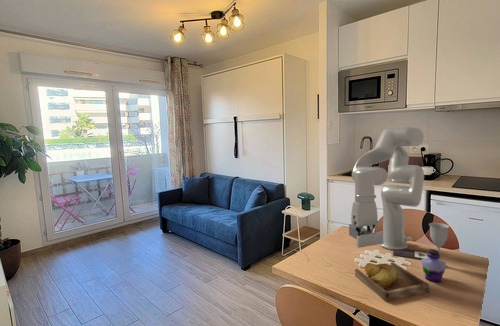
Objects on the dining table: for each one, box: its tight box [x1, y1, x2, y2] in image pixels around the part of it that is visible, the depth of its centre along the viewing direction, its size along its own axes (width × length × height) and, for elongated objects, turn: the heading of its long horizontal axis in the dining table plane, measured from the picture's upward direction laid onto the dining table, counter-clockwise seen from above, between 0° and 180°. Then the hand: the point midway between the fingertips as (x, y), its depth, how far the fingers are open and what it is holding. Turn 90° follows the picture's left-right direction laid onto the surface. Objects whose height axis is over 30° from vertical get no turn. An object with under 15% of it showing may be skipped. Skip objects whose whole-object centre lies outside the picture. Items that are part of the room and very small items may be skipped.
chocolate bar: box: [392, 248, 429, 261], centre depth 130 cm, size 9×1×18 cm
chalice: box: [428, 222, 450, 261], centre depth 118 cm, size 7×7×18 cm
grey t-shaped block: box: [348, 223, 383, 248], centre depth 119 cm, size 12×13×5 cm
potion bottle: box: [420, 248, 447, 284], centre depth 108 cm, size 9×9×12 cm
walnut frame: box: [354, 262, 430, 303], centre depth 107 cm, size 18×18×3 cm
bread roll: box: [364, 262, 399, 289], centre depth 108 cm, size 13×10×8 cm
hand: (364, 240), depth 117 cm, fingers closed on grey t-shaped block, 3 cm apart
